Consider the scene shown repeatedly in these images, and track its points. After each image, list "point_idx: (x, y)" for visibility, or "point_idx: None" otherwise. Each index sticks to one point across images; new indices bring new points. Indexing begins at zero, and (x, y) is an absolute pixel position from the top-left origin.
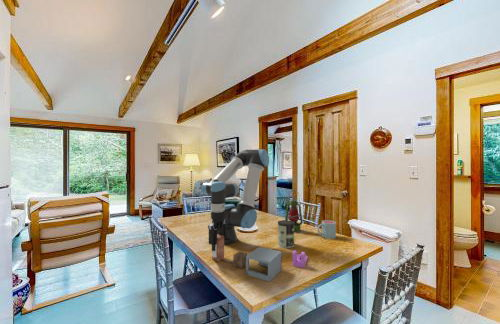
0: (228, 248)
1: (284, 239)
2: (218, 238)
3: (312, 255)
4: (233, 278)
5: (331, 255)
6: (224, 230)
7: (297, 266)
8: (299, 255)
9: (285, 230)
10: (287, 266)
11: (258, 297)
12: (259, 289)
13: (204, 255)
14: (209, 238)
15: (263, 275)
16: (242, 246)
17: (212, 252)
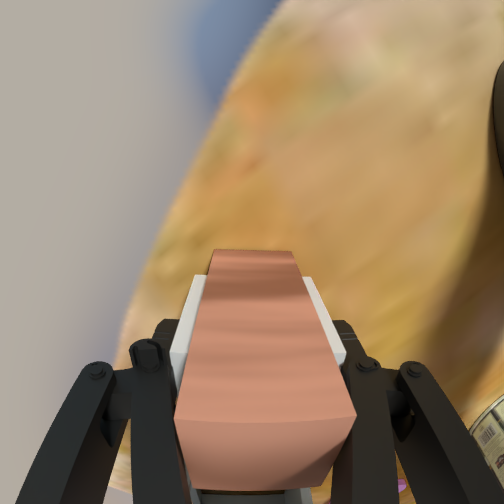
0: (456, 233)
1: (485, 448)
2: (192, 480)
3: None
4: (126, 435)
5: None
6: (419, 489)
7: (329, 502)
8: None
9: (498, 475)
10: (319, 495)
11: (114, 483)
12: None
13: (251, 128)
14: (60, 432)
15: (191, 499)
16: (492, 295)
17: (189, 297)
